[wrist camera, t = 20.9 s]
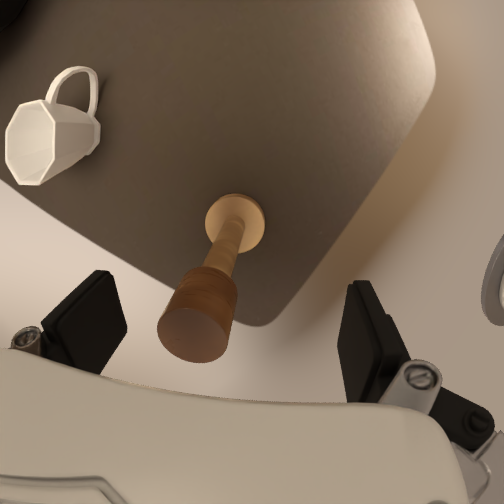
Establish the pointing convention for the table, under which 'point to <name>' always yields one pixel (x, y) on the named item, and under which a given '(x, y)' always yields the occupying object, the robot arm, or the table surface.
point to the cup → (51, 134)
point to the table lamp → (9, 11)
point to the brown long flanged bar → (211, 284)
